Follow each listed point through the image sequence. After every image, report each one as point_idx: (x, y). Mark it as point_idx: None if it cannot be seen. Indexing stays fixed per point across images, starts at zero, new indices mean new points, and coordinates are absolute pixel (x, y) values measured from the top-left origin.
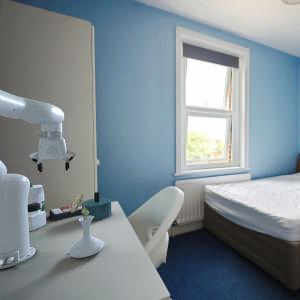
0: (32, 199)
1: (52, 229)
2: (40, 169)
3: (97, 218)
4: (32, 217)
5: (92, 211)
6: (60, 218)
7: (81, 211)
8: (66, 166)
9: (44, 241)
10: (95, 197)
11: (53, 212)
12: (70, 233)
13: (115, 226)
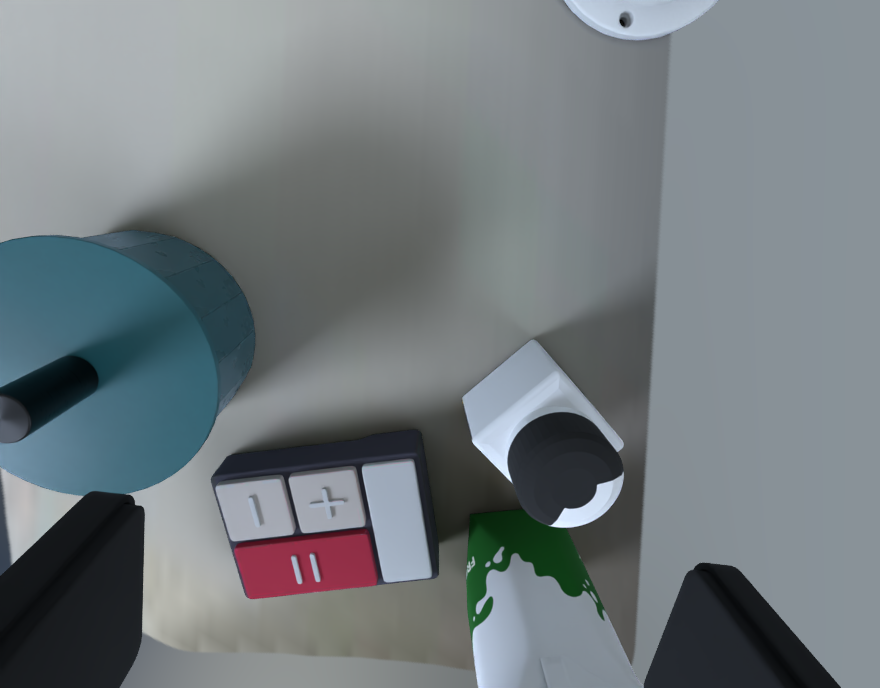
0: (560, 619)
1: (435, 286)
2: (759, 621)
3: (146, 235)
4: (553, 369)
5: (150, 255)
6: (383, 438)
7: (249, 464)
8: (13, 590)
9: (486, 91)
10: (55, 379)
11: (419, 498)
12: (342, 118)
13: (29, 7)
